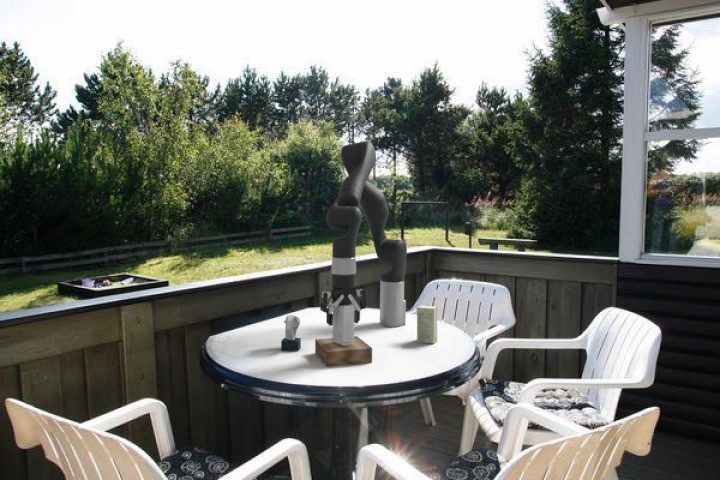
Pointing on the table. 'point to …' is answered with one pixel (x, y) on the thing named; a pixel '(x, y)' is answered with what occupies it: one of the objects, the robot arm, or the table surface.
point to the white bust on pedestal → (291, 334)
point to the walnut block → (343, 352)
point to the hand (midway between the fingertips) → (343, 324)
